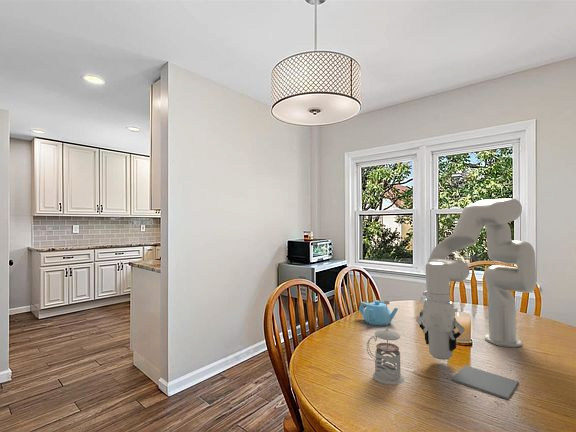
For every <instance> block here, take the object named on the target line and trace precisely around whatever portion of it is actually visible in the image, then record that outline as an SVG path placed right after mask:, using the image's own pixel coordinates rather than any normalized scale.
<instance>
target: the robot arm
mask: <svg viewBox="0 0 576 432" xmlns="http://www.w3.org/2000/svg"><path fill="white" fill-rule="evenodd" d="M522 213H523V206H522V204H521V202H520V201H519V200H518V199H516V198H513V197H512V198H495V199H494V198H493V199H492V198H491V199H482V200H478V201H475V202H474V203H470V204H468V205H466V206H464V208H463V210H462V211H461V214H460V216H459V218H458V220H457V223H456V225H455V227H454V229H453V232H452V233H451V234H449V236H447V237H445V238H444V239H443V240H441V241H440V242H439V243H438V244H437V245H435V247H434V248H433V249H432V251H431V253H430V256H429V258H428V260H427V263H426V264H425V285H426V286H425V287H426V289H425V290H426V291H423V292H422V296H425V298H426V299H425V300H424V304H422V308H423V309H422V310H423V316H419V317H418V318H416V319H415V321H416V323H417V325H418V326H419V328H420V329H421V330H422V333H424V341H425V345H427V346H429V337H428V328H429V327H432V326H433V325H432V324H434V325H439V328H441V329H442V330H443V331H444V332H446V333H449V336H450V337H451V339H450V340H449V343H450V351H452V352H454V350H456V348H457V339H458V338H459V337H460V336H461V335H462V334H464V333H465V331H466V328H465V327H464V326H463V325H461V324H460V323H459V321H457V320H456V318H455V312H454V304H453V301H451V290H450V289H451V288H450V286H451V285H450V283H451V282H463V281H465V280H466V279H467V278H468V277H469V275H470V268H469V266H468V264H467V263H465V262H464V261H463V260H462V261H461V260H457V259H449V258H448V256H449V255H451V254H453V253H454V252H457V251H460V250H464V249H466V248H469V247H472V246H474V245H475V244H476V243H477V242H478V240H479V237H480V234H481V232H482V229H483V227H484V228H485V232H486V246H487V247H486V248H487V256H488V259H489V260H490V261H492V262H494V263H495V262H496V263H500V264H501V263H502V264H509V265H510V264H511V265H516V266H509V265H508V266H506V265H500V264H499V265H498V264H497V265H496V264H495V265H491V266H488V267H487V268H486V269H485V270H484V281H485V285H486V291H487V313H488V314H487V316H488V317H487V318H488V333H486V334H485V335H484V340H485V341H486V342H489V343H490V344H493V345H496V346H501V347H506V348H517V347H521V346H522V341H521V340H520V339H518V338H517V314H516V313H517V311H516V310H517V309H516V306H517V304H516V299H515V297H514V295H513V293H512V292H511V291H513V292H518V293H525V294H526V293H527V294H528V293H533V292H534V290H536V287H537V269H536V267H537V266H536V265H537V264H536V253H535V249H534V247H533V245H532V244H531V243H530V242H528V241H525V240H513V239H512V232H511V227H510V225H509V224H508V223H512V222H513V221H514V222H515V220H517V219H519V218H520V216H521V214H522ZM456 329H458V331H457V332H456V331H455V330H456Z"/></svg>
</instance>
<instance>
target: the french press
mask: <svg viewBox="0 0 576 432" xmlns="http://www.w3.org/2000/svg"><path fill="white" fill-rule="evenodd" d="M383 301H384V304H385V305H386V313H387V307H388V305H390V301H389V300H388V299H385V300H383ZM400 338H401V334H399V333H398V332H397V331H396V330H393V329H390V328H388V327H386V328H383V329H382V328H381V329H378V330H377V331H375V332H374V335H373V336H371V337H370V338H369V339H368V341H367V343H366V350H367V354H368V355H369V357H370V358H371V359H373V360H374V368H375V369H374V371H373V373H372V377H373V378H374V380H376V381H377V382H379V383H381V384H386V385H393V386H394V385H400V384H402V383H403V382H405V378H404V376H403V374H401V352H400V351H399V350H400V347H399V346H398V345H396V344H394V343H390V342H389V341H397V340H400ZM372 339H374V342H376V341H377V340H378V339H381V340H383V341H384V340H385V341H386V342H380V343H378V344H376V347H375V348H376V350H375V351H374V352H375V355H374V354H373V353H372V351H371V349H370V341H371V340H372ZM371 355H372V356H371Z"/></svg>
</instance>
